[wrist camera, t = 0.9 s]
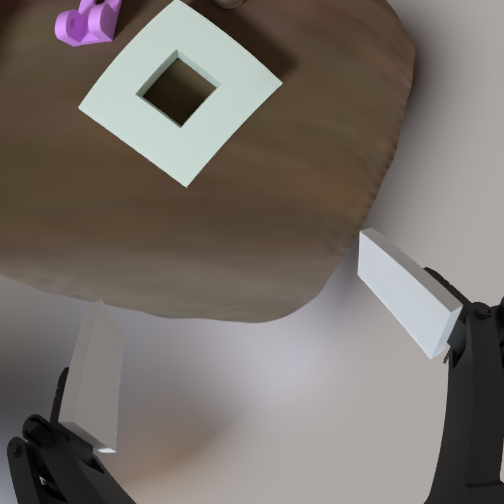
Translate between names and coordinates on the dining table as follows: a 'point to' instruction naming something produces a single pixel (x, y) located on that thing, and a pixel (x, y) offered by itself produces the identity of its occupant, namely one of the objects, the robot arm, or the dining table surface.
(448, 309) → the robot arm
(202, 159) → the socket block
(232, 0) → the peg
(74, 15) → the bracket
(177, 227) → the dining table surface
